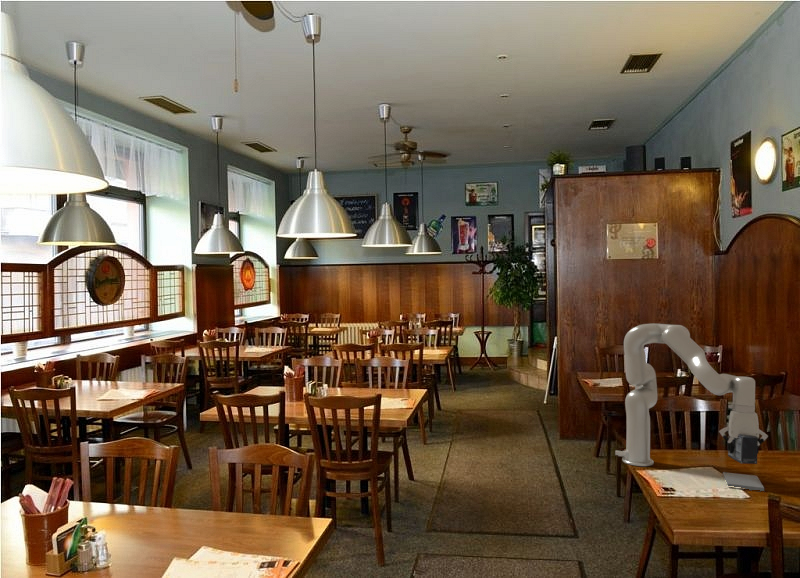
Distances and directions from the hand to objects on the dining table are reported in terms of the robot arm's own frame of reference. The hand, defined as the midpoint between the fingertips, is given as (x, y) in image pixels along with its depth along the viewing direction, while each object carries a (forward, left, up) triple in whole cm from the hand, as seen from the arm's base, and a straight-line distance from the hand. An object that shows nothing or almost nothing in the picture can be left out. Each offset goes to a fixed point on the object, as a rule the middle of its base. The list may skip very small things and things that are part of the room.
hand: (742, 453), depth 237 cm
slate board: (0, 0, -12) cm, 12 cm away
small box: (0, 0, -3) cm, 3 cm away
